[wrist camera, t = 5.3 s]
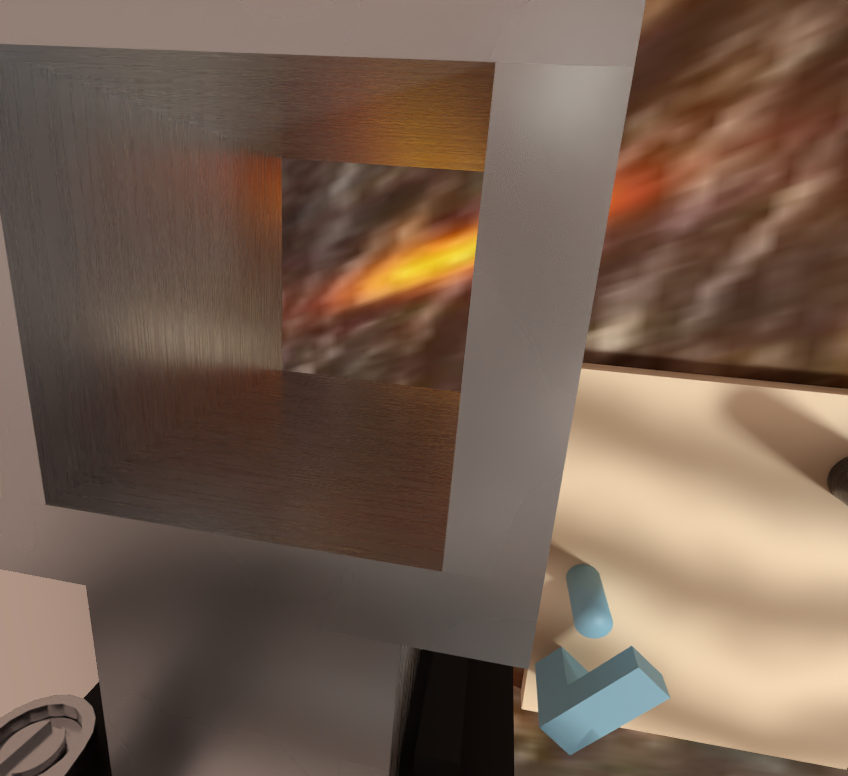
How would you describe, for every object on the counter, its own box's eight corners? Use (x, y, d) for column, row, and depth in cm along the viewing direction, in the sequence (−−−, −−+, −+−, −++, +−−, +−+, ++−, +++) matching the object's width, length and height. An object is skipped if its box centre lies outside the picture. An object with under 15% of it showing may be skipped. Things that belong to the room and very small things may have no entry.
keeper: (581, 543, 25) (597, 610, 21) (650, 611, 26) (681, 691, 21) (492, 607, 27) (490, 682, 22) (558, 669, 27) (569, 755, 23)
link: (234, 101, 8) (-151, -100, 3) (564, 117, 7) (664, -106, 3) (253, 826, 13) (105, 1165, 8) (454, 875, 12) (421, 1276, 7)
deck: (572, 361, 23) (576, 367, 22) (970, 401, 21) (998, 410, 20) (520, 689, 28) (521, 708, 27) (831, 746, 26) (846, 769, 25)
